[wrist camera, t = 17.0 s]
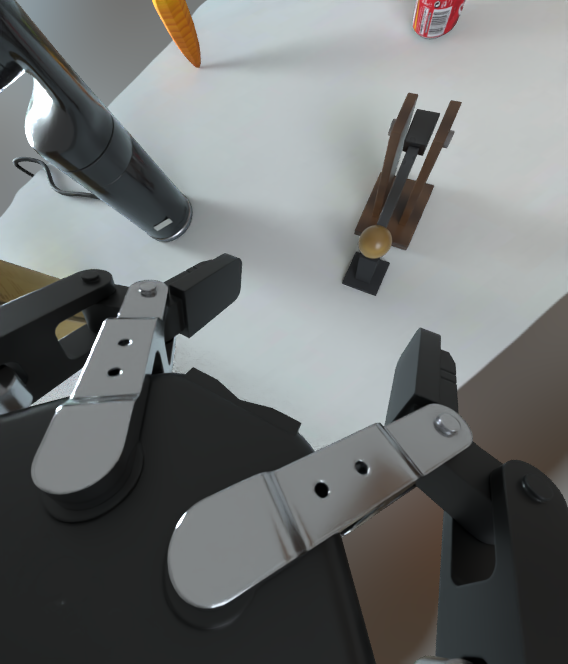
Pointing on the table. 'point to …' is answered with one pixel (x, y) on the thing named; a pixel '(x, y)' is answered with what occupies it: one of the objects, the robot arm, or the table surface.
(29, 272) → the food packaging
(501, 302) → the table surface
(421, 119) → the lever with ball knob
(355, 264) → the stop post
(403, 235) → the brown wooden upright frame
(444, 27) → the soda can
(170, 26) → the carrot
